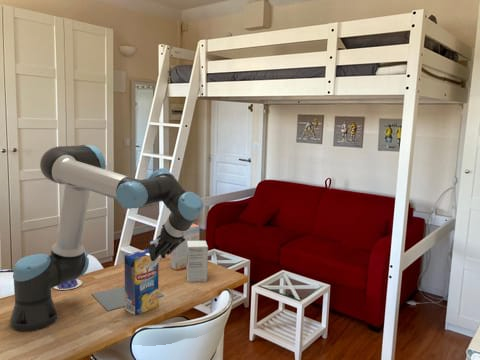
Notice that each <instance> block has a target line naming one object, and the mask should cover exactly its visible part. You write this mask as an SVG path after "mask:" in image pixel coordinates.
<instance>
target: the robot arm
mask: <svg viewBox="0 0 480 360" xmlns="http://www.w3.org/2000/svg"><path fill="white" fill-rule="evenodd" d="M39 163H40V164H39V166H40V167H39V169H40V171H41V174H42V175H43V176H44V177H45V179H47V180H49V181H51V182H53V183H55V184H56V183H57V184H59V185H64V191H63V199H62V206H61V212H60V219H59V224H58V226H59V227H58V230H57V231H58V233H57V239H56V242H55V243H54V244H52V246H51V250H50V254H49V255H48V254H45V253H35V254H30V255H26V256H24V257H22V258H20V259H19V260H17V261H16V263H14V264H13V271H12V272H13V273H12V278H13V289H14V307H13V309H12V313H11V316H10V320H9V322H10V324H9V325H10V328H11V329H12V330H14V331H18V332H34V331H38V330H42V329H44V328H47V327H49V326H51V325H53V324H54V323H55V322H56V321H57V320H58V310H57V308H56V306H55V303H54V301H53V298H52V289H54V288H53V287H55V286H57V287H58V285H60V284H63V283H66V282H68V281H71V280H74V279H78V278H80V277H82V276H83V275H84V274H86V272H87V271H88V269H89V265H90V264H89V262H90V260H89V257H88V256H89V255H88V253H87V251H86V250H85V247H84V245H82V242H83V241H82V240H83V236H84V235H83V234H84V229H85V222H86V218H87V217H86V216H87V211H88V210H87V209H88V205H89V198H90V193H91V192H93V193H96V194H99V195H101V196H105V197H108V198H111V199H113V200H117V202H118V204H119V205H120V206H121V207H122V208H123V209H126V210H127V209H128V210H129V209H139V208H141V207H144V206H148V205H152V204H156V203H161V202H162V203H163V204H164V205H165V206H166V208H167V209H168V210H169V211H170V214H169V215H168V217H167V218H166V220H165V222H164V224H163V225H162V227H161V229H160V232H159V233H160V234H159V235H157V237H156V239H153V238H151V239H149V240H148V242H149V248H148V249H149V254H150V258H151V259H150V263H151V266H152V267H154V266H156V265H157V264H158V262H159V263H160V260H162V259H165V258H166V255H168V256H169V255H170V253H171V252H172V251H173V250H174V249H175V248H177V247H178V246H179V245H180V244H181V243H182V242H184V241H185V238H184V236H185V234H186V232H187V231H188V229H189V228H190V227H191V225H192V224H194V223H195V221H196V220H197V219H198V218H199V216H200V213H201V212H202V210H203V207H204V202H203V199H202V198H201V197H200V195H198V194H196V193H195V192H192V191H186V190H185V189H184V187H183V185H181V183H180V182H179V181H178V180H177V179H176V177H175V176H174V174H172V173H171V172H170V170H168V169H167V168H165V167H162V168H158V169H157V170H155V171H153V172H152V173H151V174H150V175H149V177H148V178H144V179H143V178H142V179H139V178H136V177H135V178H134V177H131V176H128V175H125V174H121V173H118V172H115V171H112V170H108V169H106V158H105V155H103V153H102V151H101V149H100V148H98V147H97V146H95V145H89V144H87V145H86V144H81V145H79V144H78V145H67V146H66V145H64V146H62V145H61V146H55V147H51V148H50V149H48V150H46V151H45V152H44V154H43V155H42V157H41V158H40V162H39Z"/></svg>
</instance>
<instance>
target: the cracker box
mask: <svg viewBox="0 0 480 360" xmlns="http://www.w3.org/2000/svg"><path fill="white" fill-rule="evenodd" d="M184 238H185V241H184V242H182V243H181V244H180V245H179V246H178V247H177V248H175V249H174V250H173V251H172V252H171V253H170V254H169V255H170V259H169V260H170V263H169V264H170V268H171V269H173V270H174V271H180V270H184V269H187V241H200V225H198V224H195V223H193V224H192V225H191V227H190V228H189V229H188V231H187V232H186V234H185V236H184Z"/></svg>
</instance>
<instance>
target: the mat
mask: <svg viewBox="0 0 480 360" xmlns="http://www.w3.org/2000/svg"><path fill="white" fill-rule="evenodd" d="M91 296H92V297H93V298H94V299H95V300H96V301H97V302H98V303H99V304H100V305H101V306H102V307H103V308H104V309H105V311H106V312H110V311H114V310H119V309H121V308H125V285H124V286H120V287H116V288H111V289H107V290H104V291H98V292H94V293H91ZM162 297H165V295H164V294H163V293H161V292H160V291H159V290H158V299H159V298H162Z"/></svg>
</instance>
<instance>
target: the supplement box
mask: <svg viewBox="0 0 480 360" xmlns="http://www.w3.org/2000/svg"><path fill="white" fill-rule="evenodd" d="M208 253H209V246H208V244H207V241H206V240H199V241H187V268H186V272H185V273H186V280H187V282H189V283H191V282H192V283H193V282H196V281H197V282H208V257H209V256H208V255H209V254H208Z"/></svg>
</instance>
